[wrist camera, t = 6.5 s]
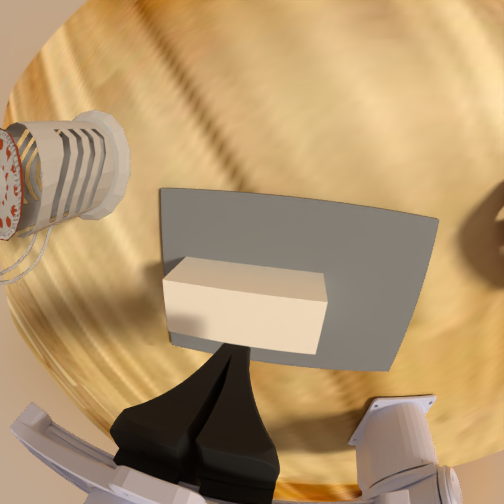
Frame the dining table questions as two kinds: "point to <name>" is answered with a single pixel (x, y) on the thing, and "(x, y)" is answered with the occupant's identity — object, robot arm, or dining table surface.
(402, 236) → the slate mat
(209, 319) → the cream block
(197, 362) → the dining table surface
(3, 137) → the french press
